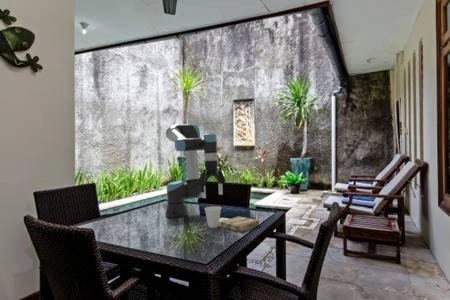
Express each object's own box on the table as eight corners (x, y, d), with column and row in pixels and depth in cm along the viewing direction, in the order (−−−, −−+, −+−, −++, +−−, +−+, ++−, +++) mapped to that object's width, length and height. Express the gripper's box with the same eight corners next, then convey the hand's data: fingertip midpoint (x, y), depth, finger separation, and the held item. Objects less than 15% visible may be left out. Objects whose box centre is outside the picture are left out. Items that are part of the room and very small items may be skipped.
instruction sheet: (214, 221, 189) (214, 220, 189) (222, 218, 196) (222, 217, 196) (230, 223, 182) (230, 223, 182) (238, 220, 189) (238, 219, 189)
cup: (219, 229, 171) (219, 210, 171) (203, 229, 173) (202, 210, 173) (223, 224, 181) (222, 206, 181) (207, 224, 183) (206, 206, 183)
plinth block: (220, 227, 176) (220, 221, 176) (239, 221, 187) (238, 216, 187) (241, 232, 164) (241, 226, 164) (259, 225, 176) (259, 220, 176)
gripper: (198, 161, 165) (200, 200, 165) (230, 158, 182) (231, 193, 183) (190, 161, 170) (191, 198, 170) (221, 158, 188) (222, 192, 188)
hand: (212, 196), depth 177 cm, fingers open, 13 cm apart
